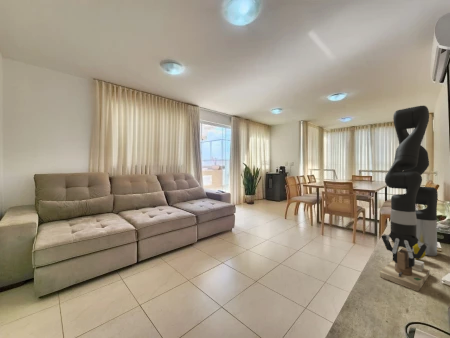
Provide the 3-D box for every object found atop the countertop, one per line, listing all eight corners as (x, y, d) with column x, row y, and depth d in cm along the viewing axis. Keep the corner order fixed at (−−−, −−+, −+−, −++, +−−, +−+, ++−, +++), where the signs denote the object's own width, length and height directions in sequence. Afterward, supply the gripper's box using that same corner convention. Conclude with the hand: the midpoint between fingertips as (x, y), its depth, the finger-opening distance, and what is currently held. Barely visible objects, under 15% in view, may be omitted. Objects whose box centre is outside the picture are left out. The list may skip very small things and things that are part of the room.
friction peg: (397, 266, 79) (397, 246, 79) (414, 271, 75) (414, 250, 75) (391, 273, 75) (390, 252, 75) (408, 279, 70) (408, 257, 70)
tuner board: (394, 263, 86) (394, 253, 86) (429, 274, 77) (429, 263, 77) (379, 276, 76) (379, 265, 76) (418, 291, 67) (418, 278, 67)
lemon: (429, 262, 86) (428, 245, 86) (414, 261, 87) (414, 244, 87) (419, 256, 92) (419, 240, 91) (405, 256, 93) (405, 239, 93)
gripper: (431, 223, 71) (431, 269, 72) (383, 216, 83) (384, 255, 83) (426, 227, 67) (426, 276, 67) (377, 219, 79) (377, 260, 79)
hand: (403, 264), depth 75 cm, fingers open, 3 cm apart
